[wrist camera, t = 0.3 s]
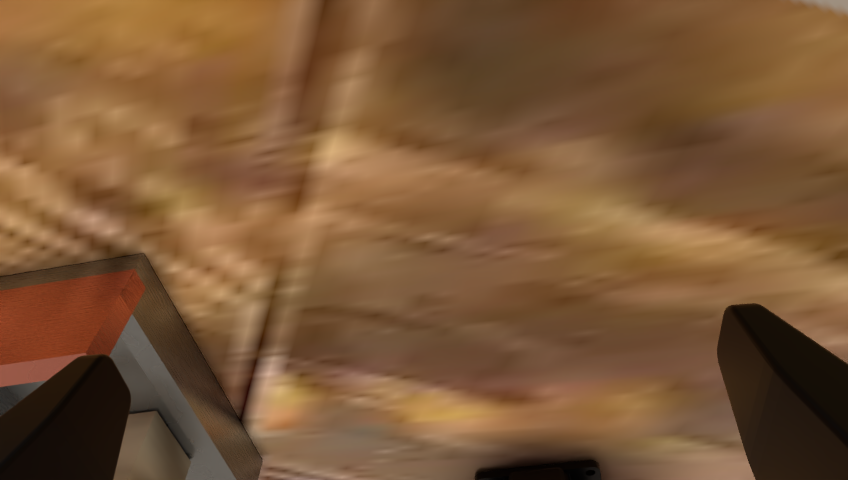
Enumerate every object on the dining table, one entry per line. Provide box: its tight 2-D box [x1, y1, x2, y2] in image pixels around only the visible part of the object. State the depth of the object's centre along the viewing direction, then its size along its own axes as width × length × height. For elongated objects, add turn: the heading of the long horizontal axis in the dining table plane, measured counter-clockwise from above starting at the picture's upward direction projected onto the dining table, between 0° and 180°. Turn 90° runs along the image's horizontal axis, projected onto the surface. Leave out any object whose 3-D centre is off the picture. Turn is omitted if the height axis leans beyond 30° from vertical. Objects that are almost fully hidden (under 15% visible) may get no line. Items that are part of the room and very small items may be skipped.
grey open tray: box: [0, 254, 262, 480], centre depth 29 cm, size 14×10×6 cm
